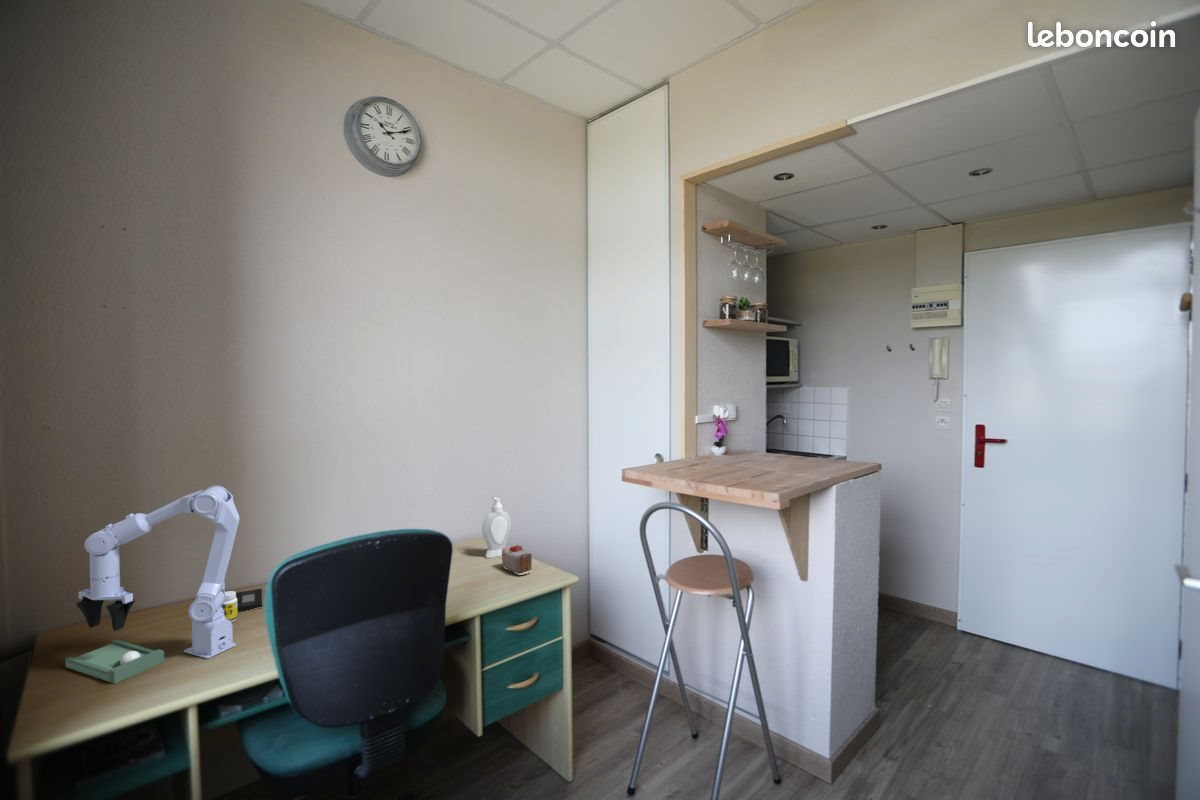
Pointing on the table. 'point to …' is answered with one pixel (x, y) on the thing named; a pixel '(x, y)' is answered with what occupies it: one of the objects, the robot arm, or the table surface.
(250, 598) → the vhs tape
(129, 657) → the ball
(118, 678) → the green tray
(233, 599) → the supplement bottle
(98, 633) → the table surface
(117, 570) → the robot arm
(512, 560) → the food item
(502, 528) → the soap bottle
